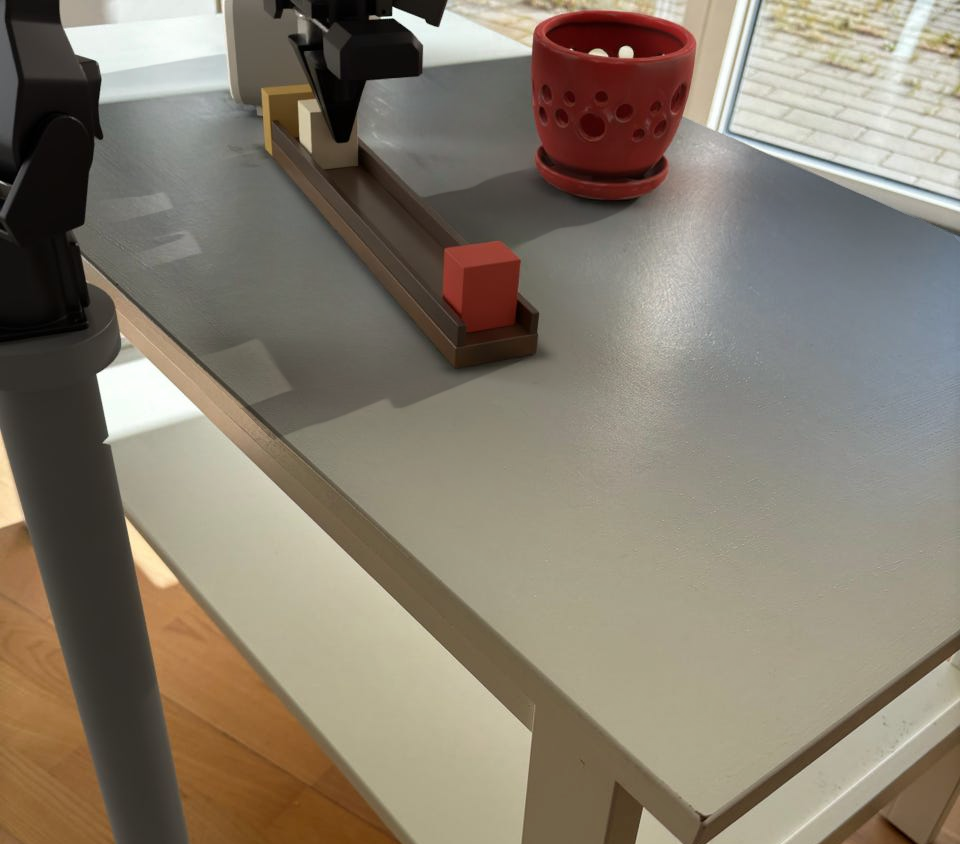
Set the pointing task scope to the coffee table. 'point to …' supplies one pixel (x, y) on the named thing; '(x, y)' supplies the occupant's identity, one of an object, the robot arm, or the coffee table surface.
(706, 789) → the coffee table surface
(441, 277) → the rail
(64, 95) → the robot arm
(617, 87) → the flower pot
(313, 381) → the coffee table surface
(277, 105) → the left stop
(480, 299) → the block
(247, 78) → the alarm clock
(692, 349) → the coffee table surface
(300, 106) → the block
